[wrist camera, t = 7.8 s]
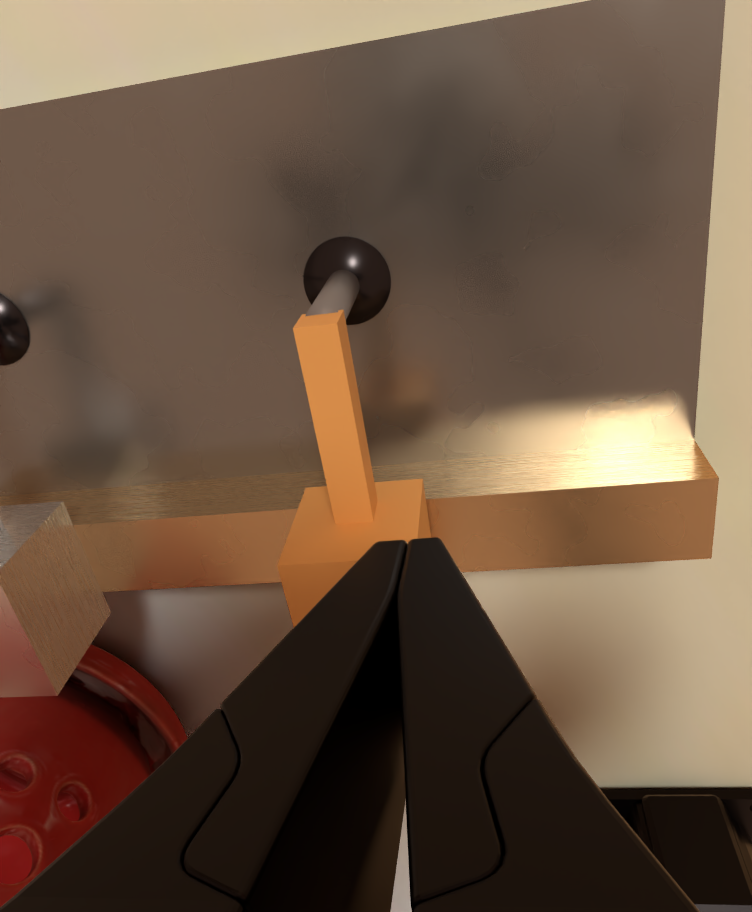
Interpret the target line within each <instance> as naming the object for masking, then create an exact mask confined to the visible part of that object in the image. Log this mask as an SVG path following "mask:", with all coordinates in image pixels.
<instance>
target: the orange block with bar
mask: <svg viewBox="0 0 752 912" xmlns="http://www.w3.org/2000/svg"><path fill="white" fill-rule="evenodd" d="M359 289H360V285H359V281H358V279H357V277H356V276H355V275H354V274H353V273H352V272H350V271H348V270H338V271H335V272H334V273H332V274H331V276H330V277H329V279H328V280H327V282H326V283H325V285H324V287H323V288H322V290H321V291H320V293H319V294H318V296H317V298H316V299H315V301H314V302H313V304H312V305H311V307H310V309H309V310H308V312H307V313H306V314H303V315H301V317H300V318H299V320H298V321H297V323H296V324H295V326H294V327H293V331H294V336H295V341H296V345H297V350H298V355H299V359H300V364H301V368H302V373H303V378H304V382H305V387H306V391H307V396H308V401H309V405H310V410H311V415H312V419H313V424H314V428H315V433H316V438H317V442H318V447H319V452H320V456H321V461H322V465H323V470H324V475H325V479H326V484H327V486H321V487H309V488H305V491H304V494H303V496H302V499H301V502H300V505H299V507H298V510H297V513H296V515H295V518H294V521H293V524H292V526H291V529H290V532H289V534H288V537H287V540H286V543H285V545H284V548H283V551H282V553H281V556H280V559H279V562H278V564H277V568H278V571H279V575H280V579H281V582H282V586H283V590H284V593H285V597H286V601H287V604H288V608H289V612H290V615H291V619H292V623H293V626H294V627H295V626H296V625H297V624H298V623H299V622H300V621H301V620H302V619H303V618H304V617H305V616H306V614H307V613H308V612H309V611H310V610H311V609H312V608H313V607H314V606H315V605H316V604H317V603H318V602H319V601H320V600H321V599H322V598H323V597H324V596H325V595H326V594H327V592H328V591H329V590H330V589H331V588H332V587H333V586H334V585H335V584H336V583H337V582H338V581H339V580H340V579H341V578H342V577H343V576H344V575H345V574H346V573H347V571H348V570H349V569H350V568H351V567H352V566H353V565H354V564H355V563H356V562H357V561H358V560H359V559H360V558H361V557H362V556H363V555H364V554H365V553H366V552H367V550H368V549H369V548H370V547H371V546H372V545H373V544H375V543H376V542H379V541H391V540H405V541H406V542H407V543H408V542H409V541H410V540H412V539H419V538H431V533H430V526H429V519H428V512H427V505H426V498H425V491H424V483H423V479H411V480H398V481H385V482H374V477H373V471H372V466H371V460H370V455H369V449H368V443H367V438H366V432H365V427H364V421H363V415H362V410H361V404H360V399H359V393H358V387H357V382H356V376H355V371H354V365H353V359H352V354H351V348H350V342H349V337H348V331H347V326H346V319H347V317H348V315H349V312H350V310H351V308H352V306H353V304H354V301H355V299H356V297H357V295H358V293H359Z"/></svg>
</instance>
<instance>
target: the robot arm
mask: <svg viewBox="0 0 752 912" xmlns="http://www.w3.org/2000/svg"><path fill="white" fill-rule="evenodd" d="M220 707H221V710H220V709H216V710H215V711H214V712H213V713H212V714H211V715H210V716H209V717H208V718H207V719H206V720H205V721H204V722H203V723H202V724H201V725H200V726H199V727H198V728H197V729H196V731H195V732H194V733H193V734H192V735H191V736H190V737H189V738H188V739H187V740H186V741H185V742H184V743H183V744H182V745H181V746H180V747H179V748H178V749H177V750H176V751H175V752H174V753H173V754H172V755H171V756H170V757H169V758H168V759H167V760H166V761H165V762H164V763H163V764H162V765H161V766H159V767H158V768H157V769H156V770H155V771H154V772H153V773H152V774H151V775H150V776H149V777H147V778H146V779H145V780H144V781H143V782H142V783H141V784H140V785H139V786H138V787H137V788H135V789H134V790H133V791H132V792H131V793H130V794H129V795H128V796H127V797H126V798H125V799H123V800H122V801H121V802H120V803H119V804H118V805H117V806H116V807H114V808H113V809H112V810H111V811H110V812H109V813H108V814H107V815H105V816H104V817H103V818H102V819H101V820H100V821H99V822H97V823H96V824H95V825H94V826H93V827H92V828H91V829H90V830H88V831H87V832H86V833H85V834H84V835H83V836H82V837H80V838H79V839H78V840H77V841H76V842H75V843H74V844H72V845H71V846H70V847H69V848H68V849H67V850H66V851H65V852H63V853H62V854H61V855H60V856H59V857H58V858H57V859H55V860H54V861H53V862H52V863H51V864H50V865H49V866H47V867H46V868H45V869H44V870H43V871H42V872H41V873H40V874H38V875H37V876H36V877H35V878H34V879H33V880H32V881H30V882H29V883H28V884H27V885H26V886H25V887H24V888H22V889H21V890H20V891H19V892H18V893H17V894H16V895H15V896H13V897H12V898H11V899H10V900H8V901H7V902H6V903H5V904H4V905H2V906H1V907H0V912H390V910H391V902H392V895H393V887H394V880H395V873H396V865H397V858H398V851H399V843H400V836H401V829H402V821H403V814H404V806H405V799H406V814H407V835H408V856H409V877H410V898H411V908H412V912H752V789H701V790H600V788H599V787H598V786H597V784H596V783H595V782H594V781H593V779H592V778H591V777H590V775H589V774H588V773H587V771H586V770H585V769H584V768H583V766H582V765H581V764H580V762H579V761H578V760H577V758H576V757H575V755H574V754H573V752H572V751H571V749H570V748H569V746H568V745H567V743H566V742H565V740H564V739H563V737H562V736H561V734H560V733H559V731H558V730H557V728H556V727H555V725H554V723H553V722H552V720H551V718H550V717H549V715H548V714H547V712H546V710H545V709H544V707H543V705H542V704H541V702H540V701H539V700H537V697H536V695H535V693H534V691H533V690H532V688H531V686H530V685H529V683H528V681H527V680H526V678H525V676H524V675H523V673H522V672H521V670H520V668H519V667H518V665H517V663H516V662H515V660H514V658H513V657H512V655H511V653H510V652H509V650H508V649H507V647H506V645H505V644H504V642H503V640H502V639H501V637H500V635H499V634H498V632H497V630H496V629H495V627H494V625H493V624H492V622H491V621H490V619H489V617H488V616H487V614H486V612H485V611H484V609H483V607H482V606H481V604H480V602H479V601H478V599H477V598H476V596H475V594H474V593H473V591H472V589H471V588H470V586H469V584H468V583H467V581H466V579H465V578H464V576H463V575H462V573H461V571H460V570H459V568H458V566H457V565H456V563H455V561H454V560H453V558H452V556H451V555H450V553H449V552H448V550H447V548H446V547H445V545H444V543H443V542H442V540H441V539H440V538H438V537H432V538H419V539H412V540H410V541H409V542H408V543H407V542H406V541H405V540H391V541H379V542H376V543H375V544H373V545H372V546H371V547H370V548H369V549H368V550H367V552H366V553H365V554H364V555H363V556H362V557H361V558H360V559H359V560H358V561H357V562H356V563H355V564H354V565H353V566H352V567H351V568H350V569H349V570H348V571H347V573H346V574H345V575H344V576H343V577H342V578H341V579H340V580H339V581H338V582H337V583H336V584H335V585H334V586H333V587H332V588H331V589H330V590H329V591H328V592H327V594H326V595H325V596H324V597H323V598H322V599H321V600H320V601H319V602H318V603H317V604H316V605H315V606H314V607H313V608H312V609H311V610H310V611H309V612H308V613H307V614H306V616H305V617H304V618H303V619H302V620H301V621H300V622H299V623H298V624H297V625H296V626H295V627H294V628H293V629H292V630H291V631H290V632H289V633H288V634H287V635H286V637H285V638H284V639H283V640H282V641H281V642H280V643H279V644H278V645H277V646H276V647H275V648H274V649H273V650H272V651H271V652H270V653H269V654H268V655H267V656H266V657H265V659H264V660H263V661H262V662H261V663H260V664H259V665H258V666H257V667H256V668H255V669H254V670H253V671H252V672H251V673H250V674H249V675H248V676H247V677H246V678H245V680H244V681H243V682H242V683H241V684H240V685H239V686H238V687H237V688H236V689H235V690H234V691H233V692H232V693H231V694H230V695H229V696H228V697H227V698H226V699H225V700H224V702H223V703H222V704H221V706H220Z"/></svg>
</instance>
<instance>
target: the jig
mask: <svg viewBox="0 0 752 912" xmlns="http://www.w3.org/2000/svg"><path fill="white" fill-rule="evenodd" d="M724 12H725V0H590V1H585V2H579V3H574V4H569V5H563V6H558V7H552V8H547V9H541V10H536V11H531V12H525V13H520V14H514V15H509V16H504V17H498V18H493V19H487V20H482V21H477V22H471V23H466V24H460V25H455V26H449V27H444V28H439V29H433V30H428V31H422V32H417V33H412V34H406V35H401V36H395V37H390V38H385V39H379V40H374V41H368V42H363V43H357V44H352V45H347V46H341V47H336V48H330V49H325V50H320V51H314V52H309V53H303V54H298V55H293V56H287V57H282V58H276V59H271V60H265V61H260V62H255V63H249V64H244V65H238V66H233V67H228V68H222V69H217V70H211V71H206V72H201V73H195V74H190V75H184V76H179V77H173V78H168V79H163V80H157V81H152V82H146V83H141V84H136V85H130V86H125V87H119V88H114V89H109V90H103V91H98V92H92V93H87V94H82V95H76V96H71V97H65V98H60V99H54V100H49V101H44V102H38V103H33V104H27V105H22V106H17V107H11V108H6V109H0V697H32V696H58V694H59V693H60V691H61V690H62V688H63V687H64V685H65V683H66V682H67V680H68V679H69V677H70V676H71V674H72V673H73V671H74V669H75V668H76V666H77V665H78V663H79V662H80V660H81V659H82V657H83V656H84V654H85V652H86V651H87V649H88V648H89V646H90V645H91V643H92V642H93V640H94V638H95V637H96V635H97V634H98V632H99V631H100V629H101V628H102V626H103V624H104V623H105V621H106V620H107V618H108V617H109V615H110V614H111V611H110V609H109V607H108V604H107V602H106V600H105V597H104V595H103V593H102V592H111V591H129V590H147V589H165V588H184V587H202V586H220V585H238V584H256V583H274V582H281V579H280V575H279V571H278V568H277V564H278V562H279V559H280V556H281V553H282V551H283V548H284V545H285V543H286V540H287V537H288V534H289V532H290V529H291V526H292V524H293V521H294V518H295V515H296V513H297V510H298V507H299V505H300V502H301V499H302V496H303V494H304V491H305V488H309V487H321V486H327V484H326V479H325V475H324V470H323V465H322V461H321V456H320V452H319V447H318V442H317V438H316V433H315V428H314V424H313V419H312V415H311V410H310V405H309V401H308V396H307V391H306V387H305V382H304V378H303V373H302V368H301V364H300V359H299V355H298V350H297V345H296V341H295V336H294V331H293V327H294V326H295V324H296V323H297V321H298V320H299V318H300V317H301V315H303V314H306V313H307V312H308V310H309V309H310V307H311V305H312V304H313V302H314V301H315V299H316V298H317V296H318V294H319V293H320V291H321V290H322V288H323V287H324V285H325V283H326V282H327V280H328V279H329V277H330V276H331V274H332V273H334V272H335V271H338V270H348V271H350V272H352V273H353V274H354V275H355V276H356V277H357V279H358V281H359V285H360V289H359V293H358V295H357V297H356V299H355V301H354V304H353V306H352V308H351V310H350V312H349V315H348V317H347V319H346V326H347V331H348V337H349V342H350V348H351V354H352V359H353V365H354V371H355V376H356V382H357V387H358V393H359V399H360V404H361V410H362V415H363V421H364V427H365V432H366V438H367V443H368V449H369V455H370V460H371V466H372V471H373V477H374V482H385V481H398V480H411V479H423V483H424V491H425V498H426V505H427V512H428V519H429V526H430V533H431V538H432V537H438V538H440V539H441V540H442V542H443V543H444V545H445V547H446V548H447V550H448V552H449V553H450V555H451V556H452V558H453V560H454V561H455V563H456V565H457V566H458V568H459V570H460V571H461V572H473V571H491V570H509V569H527V568H545V567H563V566H581V565H599V564H617V563H635V562H654V561H672V560H690V559H708V558H711V557H712V546H713V535H714V524H715V514H716V503H717V492H718V481H719V478H718V476H717V474H716V473H715V471H714V470H713V468H712V467H711V465H710V463H709V462H708V460H707V459H706V457H705V456H704V454H703V453H702V451H701V449H700V448H699V446H698V445H697V443H696V442H695V440H694V435H695V421H696V407H697V392H698V378H699V364H700V350H701V336H702V322H703V308H704V294H705V280H706V266H707V252H708V238H709V224H710V209H711V195H712V181H713V167H714V153H715V139H716V125H717V111H718V97H719V83H720V69H721V55H722V41H723V26H724Z"/></svg>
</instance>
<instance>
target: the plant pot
mask: <svg viewBox="0 0 752 912" xmlns="http://www.w3.org/2000/svg"><path fill="white" fill-rule="evenodd" d="M187 739H188V738H187V736H186V734H185V731H184V728H183V727H182V725H181V723H180V721H179V719H178V717H177V715H176V714H175V712H174V711H173V709H172V708H171V706H170V705H169V703H168V702H167V701H166V700H165V698H164V697H163V696H162V695H161V694H160V692H159V691H158V690H157V689H156V688H155V687H154V686H153V685H152V684H151V683H150V682H149V681H148V680H147V679H146V678H144V677H143V676H142V675H141V674H140V673H138V672H137V671H136V670H135V669H133V668H132V667H131V666H129V665H128V664H126V663H125V662H124V661H122V660H120V659H119V658H117V657H115V656H114V655H112V654H110V653H108V652H106V651H105V650H103V649H100V648H98V647H96V646H94V645H90V646H89V648H88V649H87V651H86V652H85V654H84V656H83V657H82V659H81V660H80V662H79V663H78V665H77V666H76V668H75V669H74V671H73V673H72V674H71V676H70V677H69V679H68V680H67V682H66V683H65V685H64V687H63V688H62V690H61V691H60V693H59V694H58V696H32V697H0V907H1V906H2V905H4V904H5V903H6V902H7V901H8V900H10V899H11V898H12V897H13V896H15V895H16V894H17V893H18V892H19V891H20V890H21V889H22V888H24V887H25V886H26V885H27V884H28V883H29V882H30V881H32V880H33V879H34V878H35V877H36V876H37V875H38V874H40V873H41V872H42V871H43V870H44V869H45V868H46V867H47V866H49V865H50V864H51V863H52V862H53V861H54V860H55V859H57V858H58V857H59V856H60V855H61V854H62V853H63V852H65V851H66V850H67V849H68V848H69V847H70V846H71V845H72V844H74V843H75V842H76V841H77V840H78V839H79V838H80V837H82V836H83V835H84V834H85V833H86V832H87V831H88V830H90V829H91V828H92V827H93V826H94V825H95V824H96V823H97V822H99V821H100V820H101V819H102V818H103V817H104V816H105V815H107V814H108V813H109V812H110V811H111V810H112V809H113V808H114V807H116V806H117V805H118V804H119V803H120V802H121V801H122V800H123V799H125V798H126V797H127V796H128V795H129V794H130V793H131V792H132V791H133V790H134V789H135V788H137V787H138V786H139V785H140V784H141V783H142V782H143V781H144V780H145V779H146V778H147V777H149V776H150V775H151V774H152V773H153V772H154V771H155V770H156V769H157V768H158V767H159V766H161V765H162V764H163V763H164V762H165V761H166V760H167V759H168V758H169V757H170V756H171V755H172V754H173V753H174V752H175V751H176V750H177V749H178V748H179V747H180V746H181V745H182V744H183V743H184V742H185V741H186V740H187Z"/></svg>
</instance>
